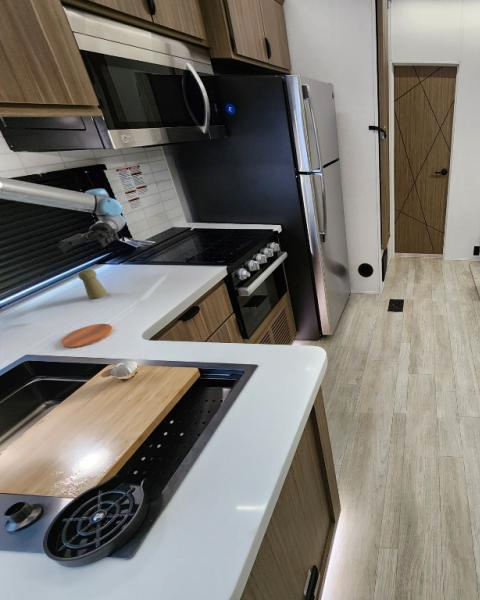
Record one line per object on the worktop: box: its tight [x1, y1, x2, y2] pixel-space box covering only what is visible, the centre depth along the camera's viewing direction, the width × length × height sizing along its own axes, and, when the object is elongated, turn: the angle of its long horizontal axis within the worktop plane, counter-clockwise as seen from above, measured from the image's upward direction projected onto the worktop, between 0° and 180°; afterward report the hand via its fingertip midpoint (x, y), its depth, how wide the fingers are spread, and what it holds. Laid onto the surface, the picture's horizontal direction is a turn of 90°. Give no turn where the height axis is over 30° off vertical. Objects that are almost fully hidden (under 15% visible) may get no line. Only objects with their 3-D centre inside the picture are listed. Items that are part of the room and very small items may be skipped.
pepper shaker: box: [78, 269, 108, 300], centre depth 132 cm, size 6×6×11 cm
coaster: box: [60, 323, 114, 349], centre depth 109 cm, size 13×13×1 cm
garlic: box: [110, 360, 139, 377], centre depth 91 cm, size 6×5×5 cm
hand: (80, 247), depth 130 cm, fingers open, 13 cm apart
